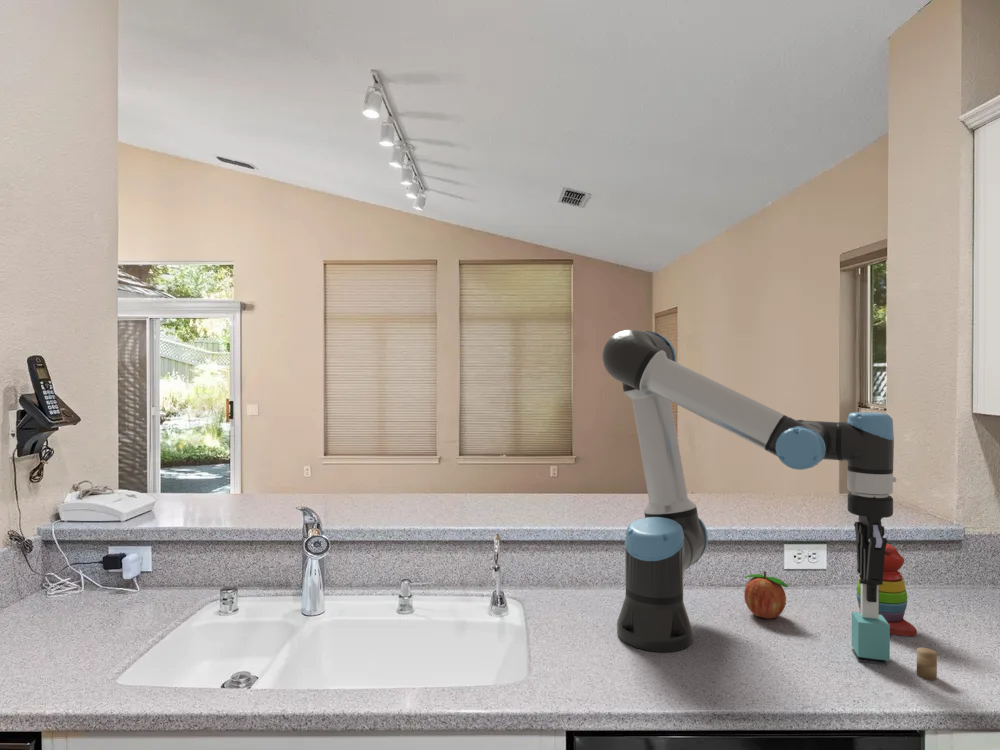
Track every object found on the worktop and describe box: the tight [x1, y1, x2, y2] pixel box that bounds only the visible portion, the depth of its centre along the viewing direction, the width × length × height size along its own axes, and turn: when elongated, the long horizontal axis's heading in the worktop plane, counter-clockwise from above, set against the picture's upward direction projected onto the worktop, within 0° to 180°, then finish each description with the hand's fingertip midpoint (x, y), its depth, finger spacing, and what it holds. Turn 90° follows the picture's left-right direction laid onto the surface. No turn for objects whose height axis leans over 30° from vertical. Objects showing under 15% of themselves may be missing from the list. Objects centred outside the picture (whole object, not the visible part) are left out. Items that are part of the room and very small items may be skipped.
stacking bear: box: [856, 543, 918, 637], centre depth 135 cm, size 11×10×18 cm
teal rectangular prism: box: [851, 611, 891, 661], centre depth 120 cm, size 5×5×7 cm
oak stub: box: [916, 647, 938, 681], centre depth 113 cm, size 3×3×4 cm
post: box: [851, 648, 888, 666], centre depth 120 cm, size 5×5×7 cm
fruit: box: [743, 570, 789, 619], centre depth 140 cm, size 9×10×10 cm
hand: (869, 616), depth 120 cm, fingers closed
